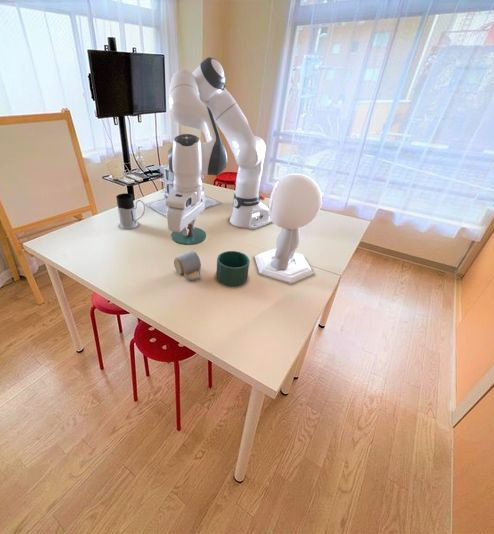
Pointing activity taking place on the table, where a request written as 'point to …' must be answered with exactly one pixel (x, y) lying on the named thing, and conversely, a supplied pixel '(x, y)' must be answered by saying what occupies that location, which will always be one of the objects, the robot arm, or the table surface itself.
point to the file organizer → (168, 181)
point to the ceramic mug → (188, 264)
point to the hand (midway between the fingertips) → (188, 232)
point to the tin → (232, 268)
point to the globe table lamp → (290, 227)
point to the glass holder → (127, 211)
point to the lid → (189, 236)
